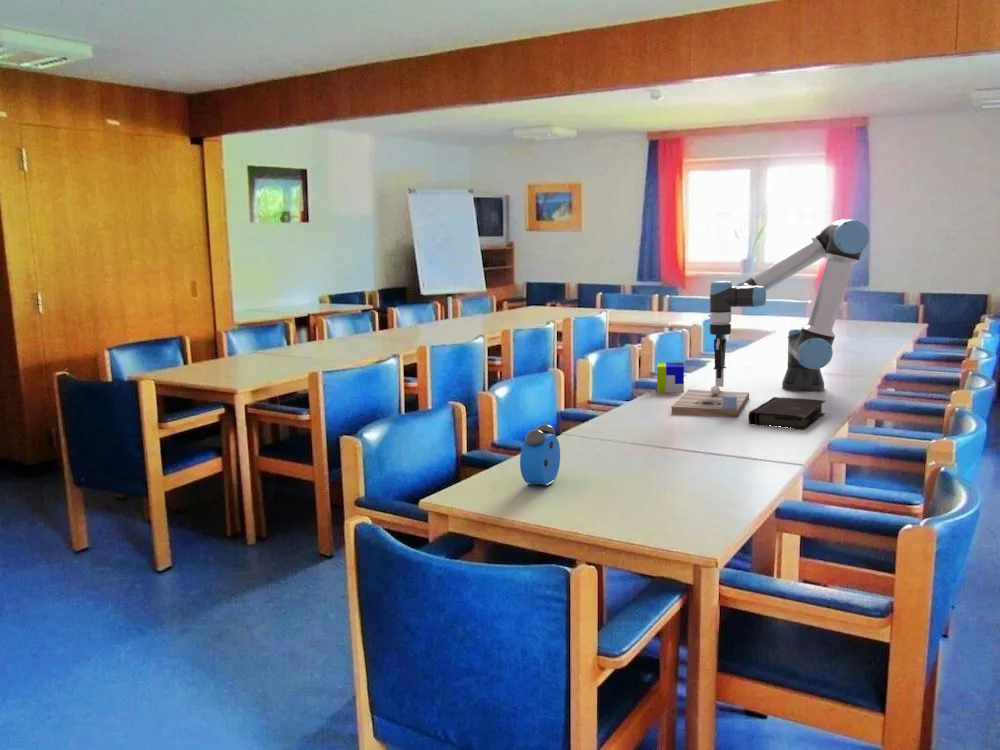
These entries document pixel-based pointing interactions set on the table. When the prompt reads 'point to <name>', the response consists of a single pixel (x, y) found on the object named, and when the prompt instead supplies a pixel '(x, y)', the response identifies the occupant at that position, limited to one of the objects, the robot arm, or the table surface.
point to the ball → (715, 390)
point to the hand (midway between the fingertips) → (719, 386)
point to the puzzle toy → (670, 377)
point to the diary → (787, 412)
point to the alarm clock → (540, 455)
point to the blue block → (729, 401)
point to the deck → (708, 403)
